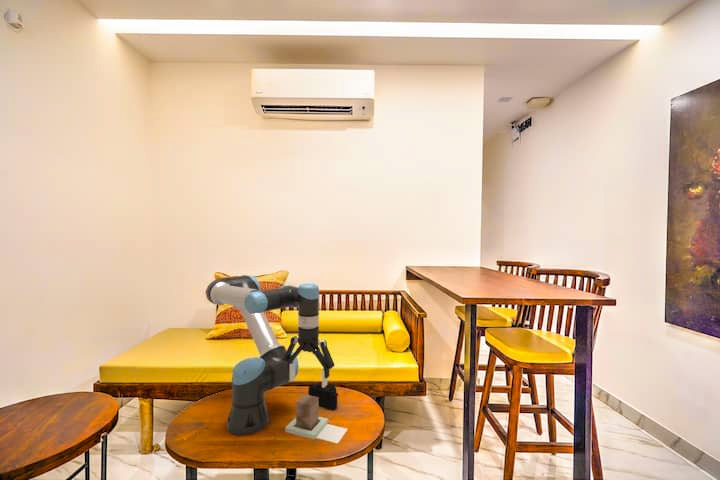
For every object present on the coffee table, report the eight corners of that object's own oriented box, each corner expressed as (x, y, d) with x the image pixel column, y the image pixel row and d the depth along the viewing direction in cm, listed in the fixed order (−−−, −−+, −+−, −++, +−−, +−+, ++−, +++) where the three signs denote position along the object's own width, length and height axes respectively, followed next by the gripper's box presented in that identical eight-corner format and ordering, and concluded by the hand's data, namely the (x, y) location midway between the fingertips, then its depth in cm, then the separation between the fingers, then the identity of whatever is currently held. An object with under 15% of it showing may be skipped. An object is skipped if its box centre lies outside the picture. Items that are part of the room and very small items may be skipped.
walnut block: (296, 431, 123) (296, 401, 123) (304, 422, 129) (304, 394, 128) (310, 434, 121) (310, 405, 121) (318, 425, 127) (318, 397, 126)
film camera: (346, 402, 144) (346, 381, 144) (333, 412, 136) (333, 390, 136) (319, 392, 152) (319, 373, 152) (304, 401, 144) (305, 381, 144)
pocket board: (285, 432, 122) (285, 427, 122) (301, 417, 132) (301, 412, 132) (314, 440, 118) (314, 435, 118) (328, 424, 128) (328, 418, 128)
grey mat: (314, 438, 119) (314, 437, 119) (326, 425, 127) (326, 423, 127) (337, 445, 115) (337, 443, 115) (347, 430, 124) (347, 429, 124)
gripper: (273, 325, 124) (273, 381, 125) (334, 333, 116) (334, 393, 116) (285, 320, 131) (285, 373, 132) (343, 327, 123) (343, 384, 123)
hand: (308, 383), depth 124 cm, fingers open, 13 cm apart
